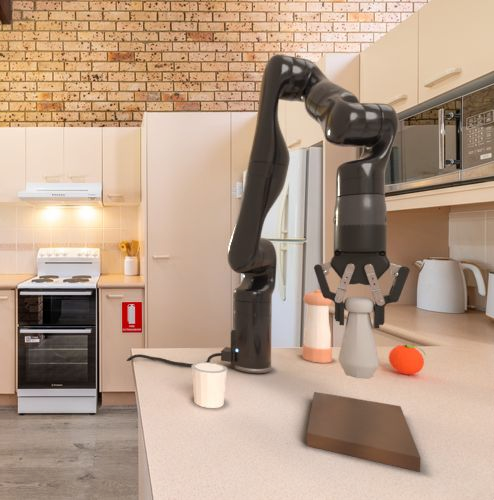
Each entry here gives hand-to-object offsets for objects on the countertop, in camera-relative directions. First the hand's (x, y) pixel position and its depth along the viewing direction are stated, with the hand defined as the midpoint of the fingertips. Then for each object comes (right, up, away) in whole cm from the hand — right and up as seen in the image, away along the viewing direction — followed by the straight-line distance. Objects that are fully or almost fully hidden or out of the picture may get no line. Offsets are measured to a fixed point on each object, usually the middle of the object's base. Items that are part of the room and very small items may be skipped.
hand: (358, 325), depth 65 cm
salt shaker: (0, -8, 0) cm, 8 cm away
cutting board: (0, -18, 0) cm, 18 cm away
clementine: (+30, -18, +30) cm, 46 cm away
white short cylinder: (-22, -17, +11) cm, 31 cm away
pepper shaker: (+15, -18, +42) cm, 48 cm away
